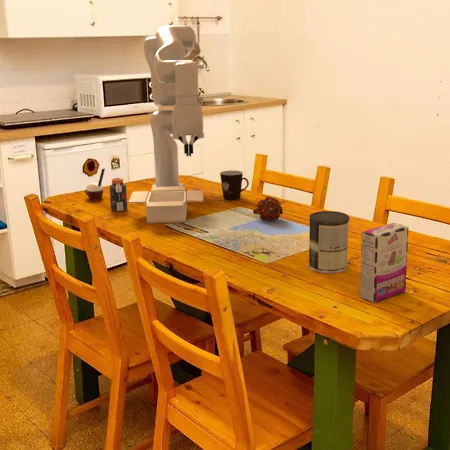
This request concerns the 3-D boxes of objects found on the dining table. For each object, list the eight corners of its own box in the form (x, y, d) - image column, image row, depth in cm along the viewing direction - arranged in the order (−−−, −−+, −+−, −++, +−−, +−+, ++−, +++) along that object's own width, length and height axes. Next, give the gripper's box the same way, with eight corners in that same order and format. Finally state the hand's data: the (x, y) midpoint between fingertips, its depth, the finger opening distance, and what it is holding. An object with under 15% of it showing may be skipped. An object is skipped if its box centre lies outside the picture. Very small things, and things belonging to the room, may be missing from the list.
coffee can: (300, 268, 169) (301, 217, 165) (321, 257, 177) (322, 208, 173) (334, 276, 163) (336, 223, 159) (354, 265, 171) (356, 214, 167)
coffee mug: (216, 197, 245) (216, 171, 242) (237, 194, 249) (236, 169, 246) (229, 204, 235) (229, 177, 232) (250, 201, 239) (250, 175, 236)
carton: (135, 207, 233) (134, 187, 231) (187, 205, 234) (186, 186, 232) (127, 229, 207) (126, 206, 205) (185, 227, 208) (184, 205, 205)
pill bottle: (126, 211, 228) (124, 180, 225) (109, 211, 228) (107, 180, 225) (128, 207, 234) (126, 176, 231) (112, 207, 234) (110, 177, 231)
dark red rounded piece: (277, 229, 209) (258, 225, 219) (293, 211, 211) (274, 208, 222) (262, 210, 206) (244, 208, 216) (279, 192, 208) (260, 190, 218)
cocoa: (83, 199, 248) (78, 169, 245) (97, 195, 252) (93, 166, 249) (96, 202, 241) (92, 171, 238) (110, 198, 245) (106, 168, 242)
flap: (187, 190, 226) (202, 190, 226) (187, 191, 226) (202, 191, 226) (186, 200, 212) (203, 200, 212) (186, 201, 212) (203, 202, 212)
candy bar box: (389, 286, 156) (393, 221, 151) (406, 292, 152) (410, 226, 148) (357, 297, 150) (360, 230, 145) (374, 304, 146) (377, 235, 141)
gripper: (209, 99, 214) (210, 153, 219) (164, 99, 213) (167, 154, 219) (210, 101, 206) (211, 157, 212) (163, 102, 206) (166, 158, 211)
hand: (188, 155), depth 215 cm, fingers closed
